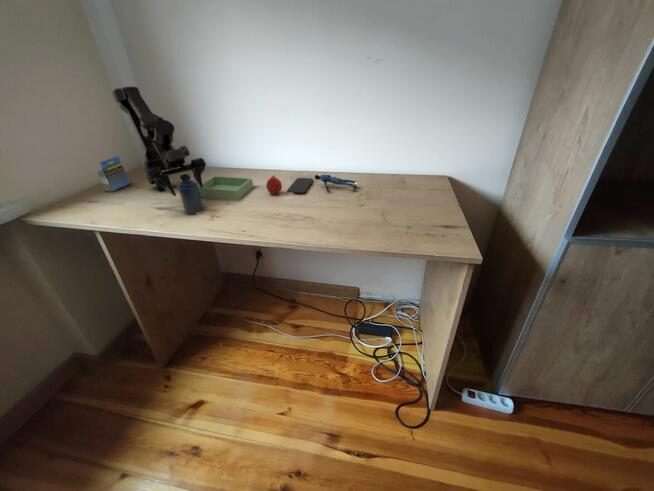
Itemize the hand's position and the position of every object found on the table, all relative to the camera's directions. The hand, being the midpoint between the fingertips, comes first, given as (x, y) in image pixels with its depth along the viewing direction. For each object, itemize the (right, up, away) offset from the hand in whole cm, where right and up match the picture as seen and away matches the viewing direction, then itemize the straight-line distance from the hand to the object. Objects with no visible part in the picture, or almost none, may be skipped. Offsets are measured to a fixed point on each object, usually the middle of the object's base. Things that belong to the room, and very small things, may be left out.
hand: (189, 191), depth 101 cm
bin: (+7, +3, +17) cm, 19 cm away
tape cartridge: (-41, +6, +24) cm, 48 cm away
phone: (+37, +6, +21) cm, 42 cm away
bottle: (0, -6, +4) cm, 7 cm away
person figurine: (+51, +5, +19) cm, 55 cm away
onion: (+27, +1, +14) cm, 31 cm away
